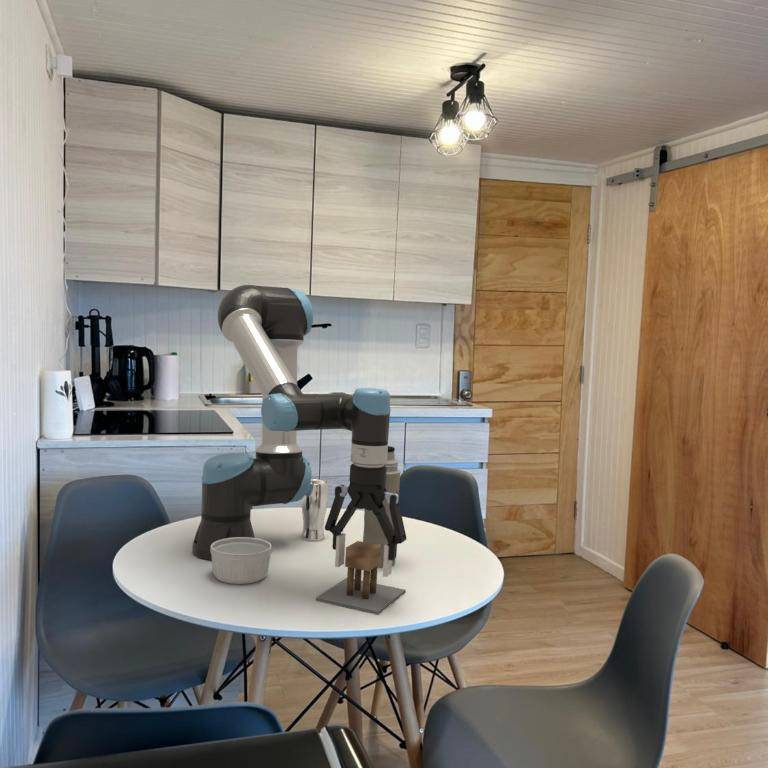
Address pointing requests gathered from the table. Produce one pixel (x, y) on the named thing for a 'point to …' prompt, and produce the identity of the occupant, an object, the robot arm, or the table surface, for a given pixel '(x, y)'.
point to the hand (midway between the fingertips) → (362, 570)
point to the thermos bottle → (371, 524)
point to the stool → (362, 567)
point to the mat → (371, 605)
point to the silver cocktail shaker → (314, 510)
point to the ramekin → (240, 559)
